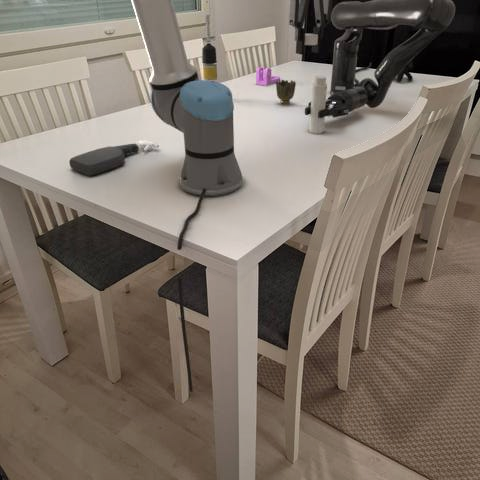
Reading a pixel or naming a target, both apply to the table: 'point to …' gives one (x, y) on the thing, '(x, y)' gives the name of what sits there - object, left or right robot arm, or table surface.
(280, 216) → the table surface
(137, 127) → the table surface
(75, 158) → the spray bottle
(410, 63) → the squiggle
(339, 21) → the right robot arm
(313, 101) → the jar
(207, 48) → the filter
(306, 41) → the lid
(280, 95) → the cup
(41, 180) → the table surface
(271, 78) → the bracket
